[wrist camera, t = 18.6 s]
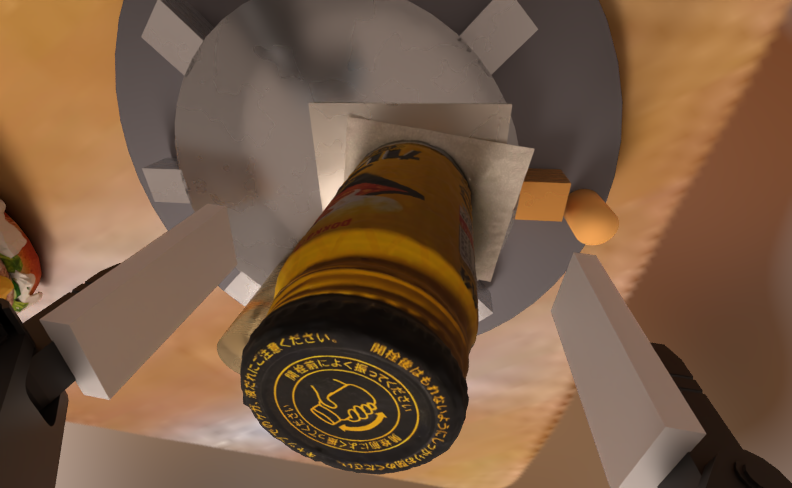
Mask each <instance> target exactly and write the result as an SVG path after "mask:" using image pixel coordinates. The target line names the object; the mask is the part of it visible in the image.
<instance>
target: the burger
mask: <svg viewBox="0 0 792 488" xmlns="http://www.w3.org/2000/svg"><path fill="white" fill-rule="evenodd" d="M5 208H6V205H5V203H4V202H3V201H2V200H1V199H0V298H3V299H5V300H7V301H9V303H10V304H11V306H12V307H13V309H14V310H15V312H16V314H18V313H19V312H21V311H23V310H25V309H26V308H28V307H30V306H31V305H33V304H35V303H36V302H38V301H39V300H40V299H41V298H42V292H38V293H36V294H34V295H33V293H34V291H35V290H36V288H37V286H38V285H39V282H40V278H41V268H40V262H39V257H38V255H37V254H36V252H35V250H34V248H33V246H32V244H31V243H30V241H29V239H28V238H27V236H26V235H25V234H24V233H23V231H22V230H21V229H20V227H19V226H18V225H17V224H16V222H14V221H13V220H12V219H11V218H10V217H9V216H8V215H7V214H6V213H5V212H4V211H5Z"/></svg>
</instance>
